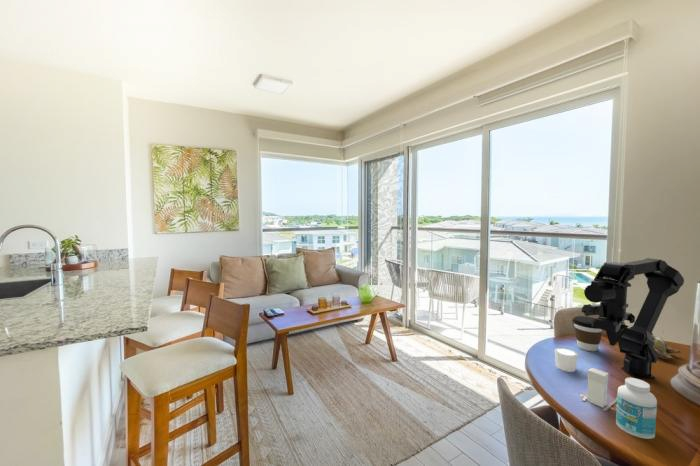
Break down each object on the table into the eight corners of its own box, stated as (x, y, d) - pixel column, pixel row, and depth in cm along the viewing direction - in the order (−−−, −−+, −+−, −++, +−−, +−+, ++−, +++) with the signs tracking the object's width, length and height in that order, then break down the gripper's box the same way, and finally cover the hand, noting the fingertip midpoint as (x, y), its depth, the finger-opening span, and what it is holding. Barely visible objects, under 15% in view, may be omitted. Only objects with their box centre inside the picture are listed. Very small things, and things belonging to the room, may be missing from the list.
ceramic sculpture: (632, 323, 130) (683, 337, 117) (630, 342, 131) (680, 358, 118) (623, 329, 124) (676, 344, 111) (621, 349, 125) (672, 366, 112)
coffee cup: (606, 356, 119) (608, 326, 118) (572, 350, 125) (573, 321, 124) (601, 345, 128) (603, 318, 127) (570, 340, 134) (571, 314, 133)
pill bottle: (608, 422, 82) (610, 374, 81) (634, 422, 82) (637, 374, 81) (634, 443, 75) (637, 391, 74) (663, 442, 75) (666, 390, 74)
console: (595, 386, 99) (595, 382, 99) (631, 401, 91) (631, 396, 91) (575, 401, 91) (575, 396, 91) (612, 418, 84) (613, 413, 84)
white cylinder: (581, 376, 105) (582, 357, 104) (559, 374, 106) (560, 355, 106) (571, 366, 112) (571, 348, 111) (550, 365, 113) (551, 346, 113)
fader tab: (590, 397, 91) (591, 367, 91) (607, 404, 88) (608, 373, 87) (586, 400, 90) (587, 370, 89) (603, 408, 86) (604, 376, 86)
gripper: (596, 291, 113) (594, 331, 114) (574, 298, 103) (572, 343, 104) (636, 298, 103) (633, 342, 104) (616, 306, 93) (613, 355, 94)
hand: (612, 345), depth 102 cm, fingers closed
